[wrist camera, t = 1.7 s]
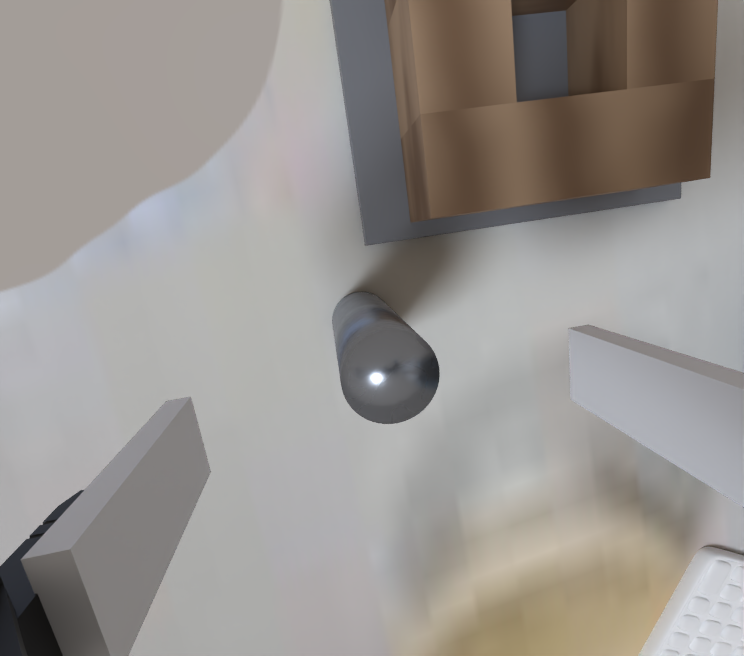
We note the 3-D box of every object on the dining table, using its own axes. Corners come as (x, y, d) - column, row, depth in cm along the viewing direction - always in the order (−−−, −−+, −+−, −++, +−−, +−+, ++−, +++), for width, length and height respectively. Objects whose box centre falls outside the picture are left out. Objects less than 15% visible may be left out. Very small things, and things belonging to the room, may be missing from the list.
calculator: (803, 569, 39) (827, 585, 37) (704, 729, 42) (722, 751, 40) (696, 538, 36) (716, 554, 35) (599, 711, 39) (613, 734, 38)
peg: (385, 287, 28) (433, 321, 16) (393, 343, 28) (444, 414, 17) (327, 296, 27) (333, 337, 16) (337, 353, 28) (349, 432, 16)
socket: (675, -105, 25) (784, -212, 19) (668, 199, 29) (757, 189, 23) (318, -78, 23) (317, -188, 17) (365, 245, 27) (377, 246, 21)
